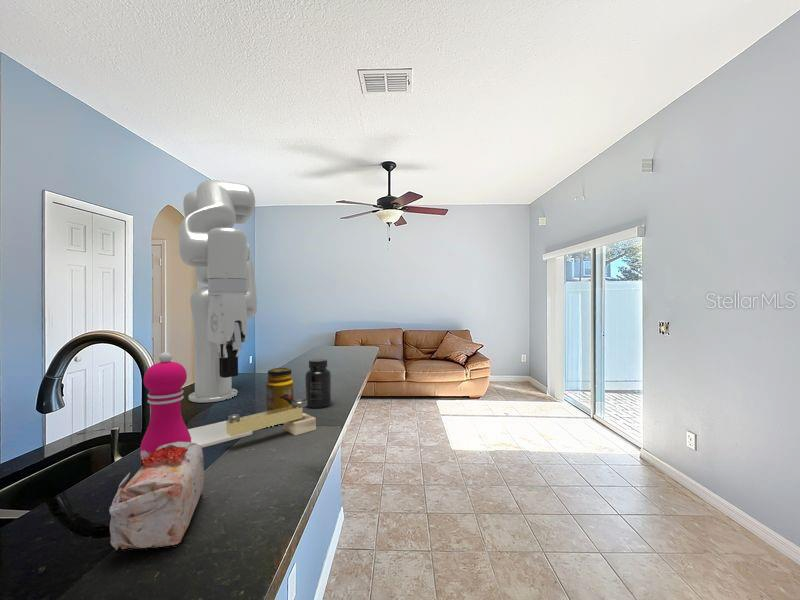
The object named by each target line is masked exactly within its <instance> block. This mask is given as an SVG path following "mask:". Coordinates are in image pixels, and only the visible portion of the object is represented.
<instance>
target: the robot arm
mask: <svg viewBox="0 0 800 600" xmlns="http://www.w3.org/2000/svg"><path fill="white" fill-rule="evenodd" d="M253 191H254V190H253V189H252V188H251V187H250V186H249V185H247V184H244V183H239V182H232V181H231V182H230V181H225V180H217V179H216V180H215V179H212V180H211V179H209V180H205V181H202V182H201V183H200V184H199V185H198V186H197V188H196V190H194V191H189V192H188V193H186V194H185V195H184V196H183V197H184V198H183V202H182V203H183V206H182V207H183V212H184V213H183V214H184V218H183V220H182V221H181V223H180V226H179V229H178V251H179V257H180V260H182V262H183V263H184V264H186V265H187V266H190V267H194V271H195V277H196V279H197V281H198V282H200V283H201V284H204V285H207V286H203V287H199V288H196V289H195V290H194V291H193V292H192V293H191V295H190V299H189V301H190V302H189V303H190V311H191V316H192V321H193V322H192V323H193V337H194V338H193V343H194V345H193V346H194V347H193V348H194V349H193V351H194V359H193V360H194V391H193V392H191V393H190V394H188V401H190V402H192V403H203V404H204V403H216V402H221V401H226V399H227V400H230V399H232V397H233V398H235V397H236V396H237V395H238V394H237V393H238V390H237V389H236V388H232V385H233V384H232V378H233V377H237V376H238V375H239V353H240V350H242V349H243V348H242V347H243V346H242V343H245V341H247V340H248V339H247V338H248V319H251V318H254V317H255V315H256V314H257V310H258V298H257V297H258V296H257V285H256V284H257V283H256V274H255V272H256V271H255V266H254V262H253V260H252V258H251V247H250V243H248V242H247V241H248V240H247V239H248V238H247V235H246V232H244V231H243V230H242V229H238V228H235V227H234V226H235V224H236V225H239V224H240V225H241V224H242V225H243V224H245V223H246V222H247V221H248V220H249V219H250V218H251V216H252V215H253V214H254V211H255V207H256V198H255V193H254V192H253ZM234 396H235V397H234Z"/></svg>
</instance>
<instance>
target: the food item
mask: <svg viewBox="0 0 800 600" xmlns="http://www.w3.org/2000/svg"><path fill="white" fill-rule="evenodd" d="M202 447H203V446H202V445H198V444H196V443H192V442H174V443H169V444H165V445H162V446H159V447H158V448H157V449H156V450H155V451H154V452H153V453H150V452H146V451H144V450H142V451H141V456H142V458H140V460H142V462H141V463H142V465H141V467H140V468H139V469H138V470H137V471H136V473H135V474H134V476H133V477H131V478H130V474H131V472H129V473H128V474H127V475H126V476H125V477H124V478H123V479H122V480H121V482H120V484H119V485H118V489H117V492H116V493H115V496H114V498H113V500H112V502H111V505H110V506H109V509H108V511H109V512H108V513H109V515H110V516H111V517H110V522H109V534H110V542H109V543H110V544H111V546H112V547H113V548H115V551H117V550H118V549H122V550H123V549H126V548H128V547H129V548H138V547H139V548H147V547H152V546H154V547H163V546H169V545H175V544H178V543H180V544H181V542H182V540H183V538H184V535H185V533H186V532H187V529H188V527H189V526H190V523H191V520H192V517H193V516H194V513H195V511H196V508H197V505H198V503H199V500H200V498H201V494H202V492H203V489H204V485H205V469H204V467H205V466H204V464H205V461H204V452H203V448H204V447H203V448H202ZM143 460H144V461H143ZM128 480H129V481H128ZM127 481H128V482H127Z"/></svg>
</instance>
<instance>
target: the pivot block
mask: <svg viewBox="0 0 800 600" xmlns="http://www.w3.org/2000/svg"><path fill="white" fill-rule="evenodd" d="M283 430H284V431H285V432H288V433H289V434H292V435H293V436H299V435H302V434H306V433H309V432H312V431H316V430H317V418H316V417H315V416H313V415H310V414H308V413H305V412H303V418H301V419H297V420H293V421H289V422H285V423H284V425H283Z"/></svg>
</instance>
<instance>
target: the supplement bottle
mask: <svg viewBox="0 0 800 600" xmlns="http://www.w3.org/2000/svg"><path fill="white" fill-rule="evenodd" d="M327 367H328V359H325V358H313V359H309V360H308V368H309V369H308V370H306V372H305V374H304V393H305V394H304V396H305V398H304V399H306V400H307V406H308V408H309V407H313V408H312V409H322V408H326V407H330V406H331V404H332V373H331V370H329V369H328V368H327ZM307 406H306V407H307Z"/></svg>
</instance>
